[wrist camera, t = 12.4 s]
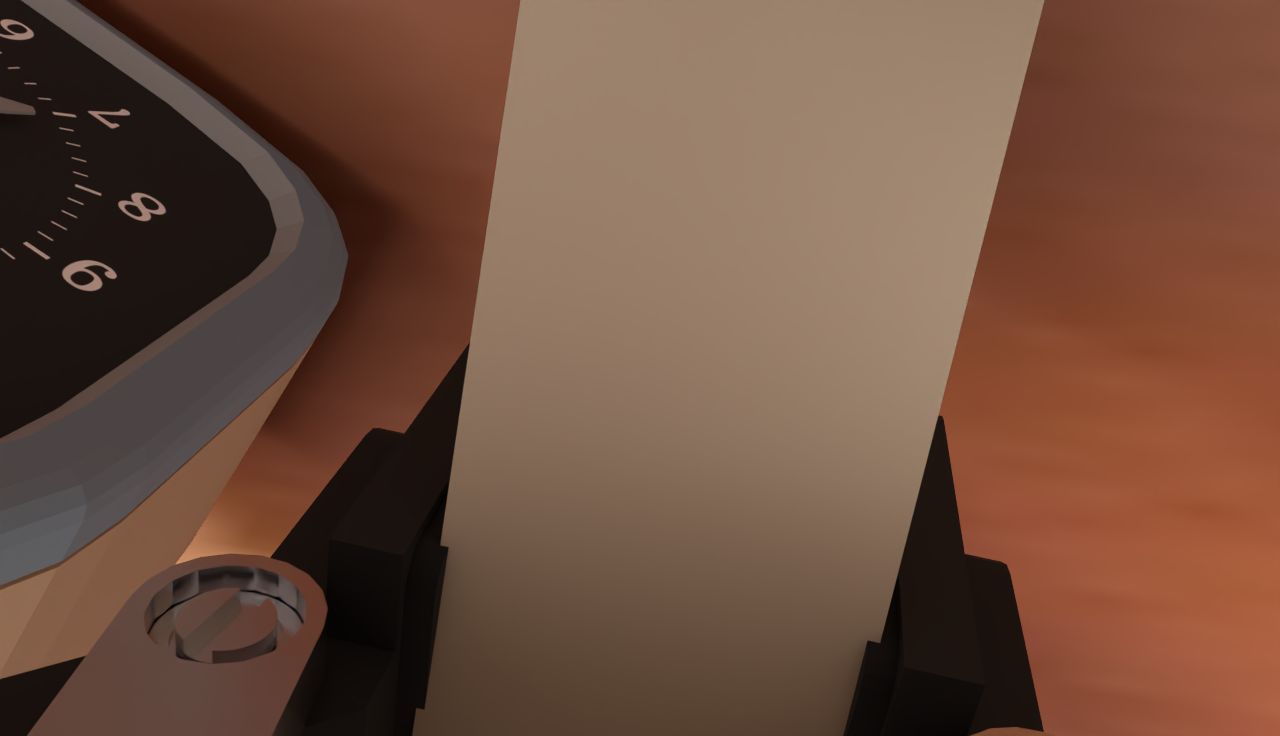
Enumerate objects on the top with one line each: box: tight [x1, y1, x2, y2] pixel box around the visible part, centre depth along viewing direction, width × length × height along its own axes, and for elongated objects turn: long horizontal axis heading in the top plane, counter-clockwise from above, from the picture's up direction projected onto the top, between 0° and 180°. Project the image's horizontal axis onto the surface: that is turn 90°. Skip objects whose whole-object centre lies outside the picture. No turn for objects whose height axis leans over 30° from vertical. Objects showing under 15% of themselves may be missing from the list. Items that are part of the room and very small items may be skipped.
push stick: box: [412, 0, 1044, 736], centre depth 11 cm, size 12×3×5 cm, turn 171°
